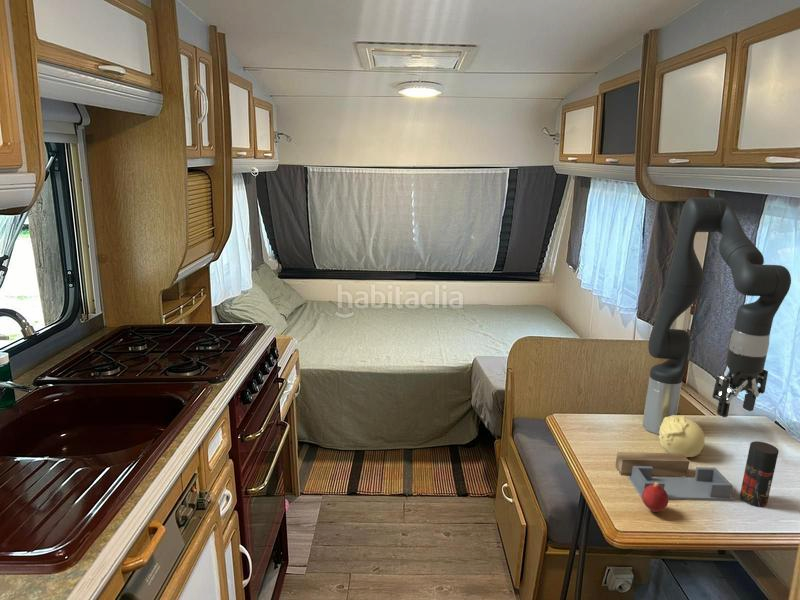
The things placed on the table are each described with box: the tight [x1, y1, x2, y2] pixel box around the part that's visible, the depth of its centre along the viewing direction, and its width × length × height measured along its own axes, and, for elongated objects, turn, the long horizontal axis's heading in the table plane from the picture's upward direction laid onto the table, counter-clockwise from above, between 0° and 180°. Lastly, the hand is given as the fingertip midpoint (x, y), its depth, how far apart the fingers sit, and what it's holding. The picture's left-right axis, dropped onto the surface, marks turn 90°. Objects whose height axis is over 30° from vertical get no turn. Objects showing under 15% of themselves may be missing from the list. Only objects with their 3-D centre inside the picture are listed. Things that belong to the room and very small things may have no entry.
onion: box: [641, 482, 669, 513], centre depth 133 cm, size 6×6×8 cm
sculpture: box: [658, 414, 706, 458], centre depth 160 cm, size 11×12×11 cm
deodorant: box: [739, 440, 780, 508], centre depth 137 cm, size 6×6×15 cm
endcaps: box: [627, 466, 734, 502], centre depth 143 cm, size 9×23×4 cm, turn 89°
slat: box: [614, 451, 690, 478], centre depth 151 cm, size 4×18×5 cm, turn 89°
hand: (734, 412), depth 130 cm, fingers open, 8 cm apart
